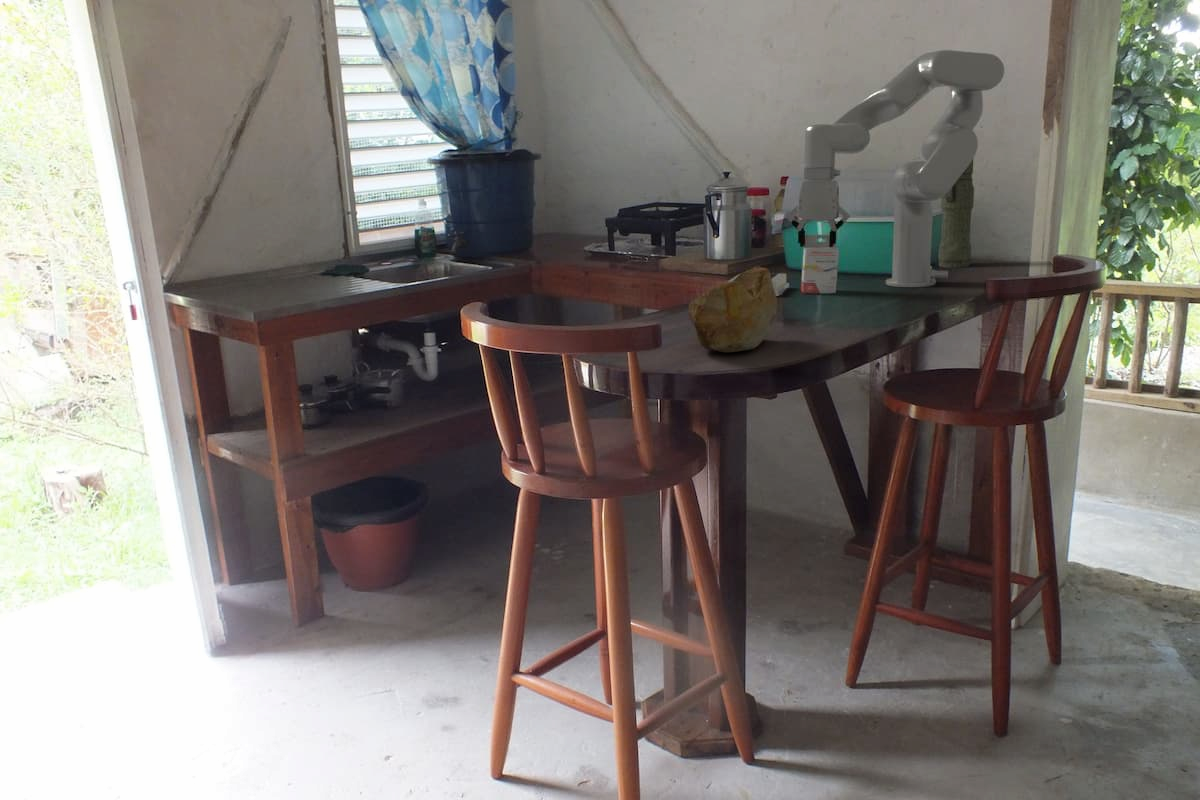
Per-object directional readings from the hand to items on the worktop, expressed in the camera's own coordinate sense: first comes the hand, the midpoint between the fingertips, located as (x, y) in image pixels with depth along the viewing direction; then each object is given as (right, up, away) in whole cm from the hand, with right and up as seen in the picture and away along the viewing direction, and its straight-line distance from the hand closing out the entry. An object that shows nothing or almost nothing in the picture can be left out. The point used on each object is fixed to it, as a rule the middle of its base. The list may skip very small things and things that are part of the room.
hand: (816, 245), depth 248 cm
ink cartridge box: (+1, -12, +3) cm, 12 cm away
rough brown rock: (-30, -29, -55) cm, 69 cm away
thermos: (+49, -1, +36) cm, 61 cm away
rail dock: (-14, -11, +9) cm, 20 cm away
